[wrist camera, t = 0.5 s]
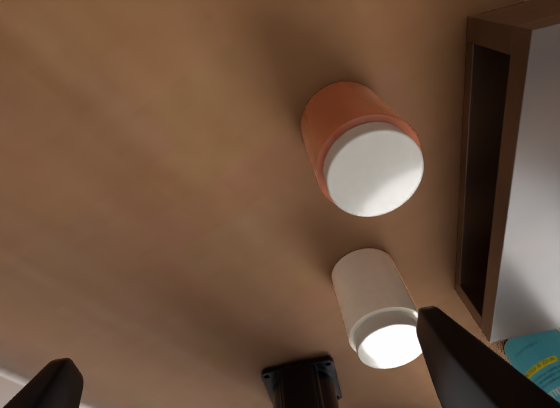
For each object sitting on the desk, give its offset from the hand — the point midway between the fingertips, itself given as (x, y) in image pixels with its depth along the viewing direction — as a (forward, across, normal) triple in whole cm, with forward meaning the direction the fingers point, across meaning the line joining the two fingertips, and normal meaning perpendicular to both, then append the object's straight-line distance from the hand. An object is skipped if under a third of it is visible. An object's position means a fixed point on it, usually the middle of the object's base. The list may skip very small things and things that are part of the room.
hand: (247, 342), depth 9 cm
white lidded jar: (+14, -7, +12) cm, 19 cm away
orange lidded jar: (+14, -6, 0) cm, 15 cm away
